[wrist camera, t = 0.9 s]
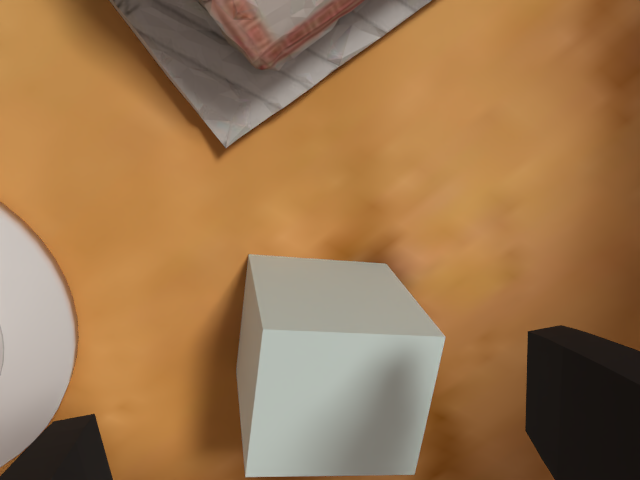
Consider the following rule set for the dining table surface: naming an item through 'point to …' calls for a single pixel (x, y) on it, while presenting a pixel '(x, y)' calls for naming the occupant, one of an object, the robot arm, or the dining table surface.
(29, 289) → the saucer
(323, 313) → the mint block
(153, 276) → the dining table surface
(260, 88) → the packaged product
